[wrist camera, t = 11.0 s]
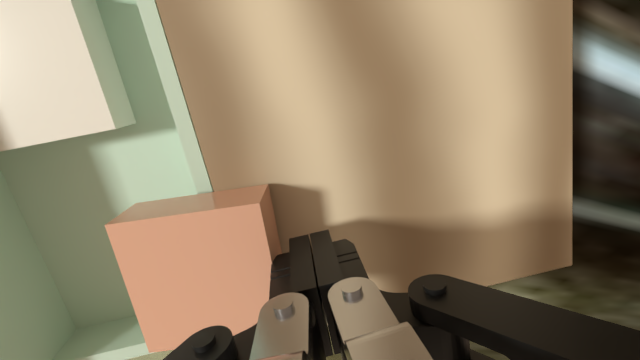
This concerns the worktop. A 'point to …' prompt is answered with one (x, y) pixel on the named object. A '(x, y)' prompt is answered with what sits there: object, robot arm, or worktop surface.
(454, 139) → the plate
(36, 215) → the box
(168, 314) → the terracotta tile
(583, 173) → the worktop surface
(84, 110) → the white tile
